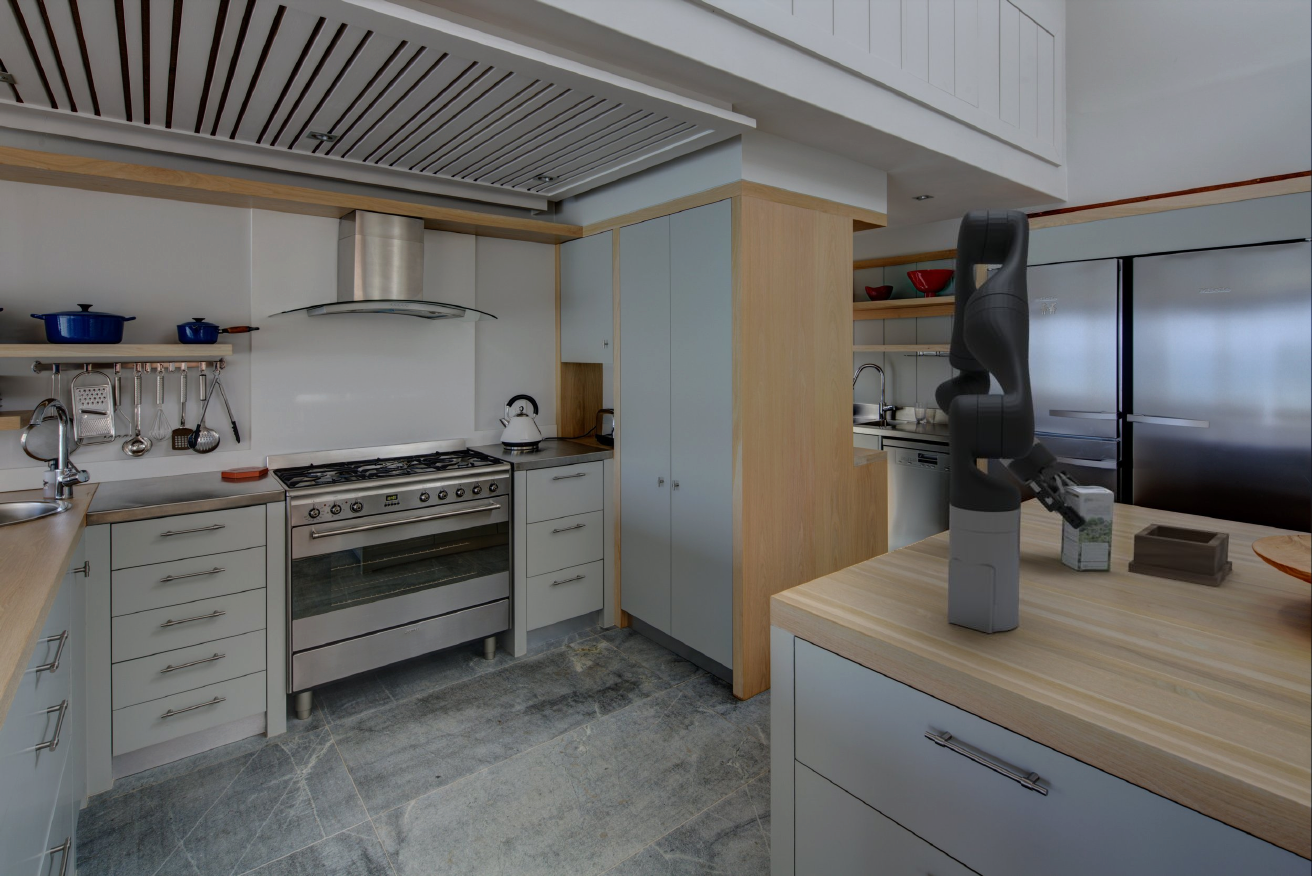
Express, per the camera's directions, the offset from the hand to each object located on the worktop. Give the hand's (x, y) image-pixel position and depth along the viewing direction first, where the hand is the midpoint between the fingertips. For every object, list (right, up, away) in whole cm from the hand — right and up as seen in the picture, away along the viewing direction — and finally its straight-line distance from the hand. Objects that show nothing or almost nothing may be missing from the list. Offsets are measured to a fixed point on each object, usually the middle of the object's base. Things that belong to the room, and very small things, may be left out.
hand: (1089, 521), depth 117 cm
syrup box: (0, -8, +1) cm, 9 cm away
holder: (+14, -8, -3) cm, 16 cm away
